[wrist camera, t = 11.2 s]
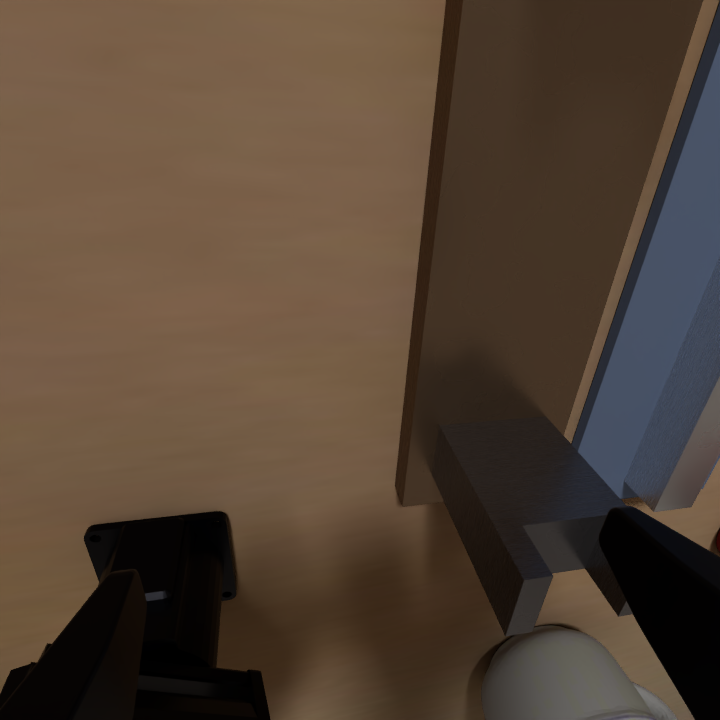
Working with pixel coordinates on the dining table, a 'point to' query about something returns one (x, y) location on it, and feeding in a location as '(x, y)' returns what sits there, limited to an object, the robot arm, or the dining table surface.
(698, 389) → the rail
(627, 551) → the robot arm
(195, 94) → the dining table surface
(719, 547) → the canned food
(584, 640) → the teacup
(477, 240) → the stand
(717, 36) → the mat
